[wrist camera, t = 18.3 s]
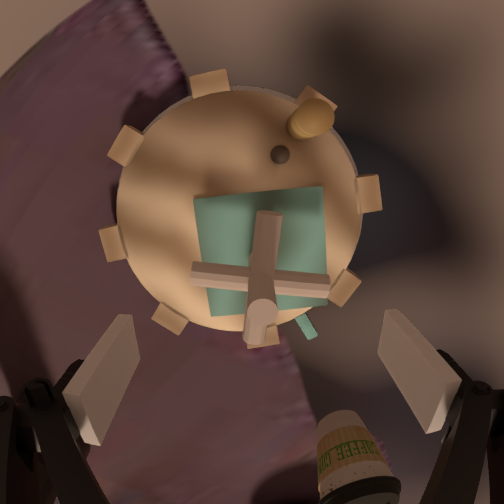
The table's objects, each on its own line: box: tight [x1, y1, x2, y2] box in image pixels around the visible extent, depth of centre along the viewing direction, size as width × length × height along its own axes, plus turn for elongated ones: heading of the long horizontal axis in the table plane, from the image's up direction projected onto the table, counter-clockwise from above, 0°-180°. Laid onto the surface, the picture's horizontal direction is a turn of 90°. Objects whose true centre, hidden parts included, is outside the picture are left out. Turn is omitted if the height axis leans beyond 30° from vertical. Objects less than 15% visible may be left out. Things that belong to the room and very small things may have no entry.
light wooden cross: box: [190, 210, 330, 345], centre depth 24 cm, size 10×10×10 cm
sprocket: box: [99, 68, 382, 349], centre depth 25 cm, size 26×26×9 cm
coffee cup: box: [317, 410, 401, 504], centre depth 32 cm, size 10×10×15 cm
